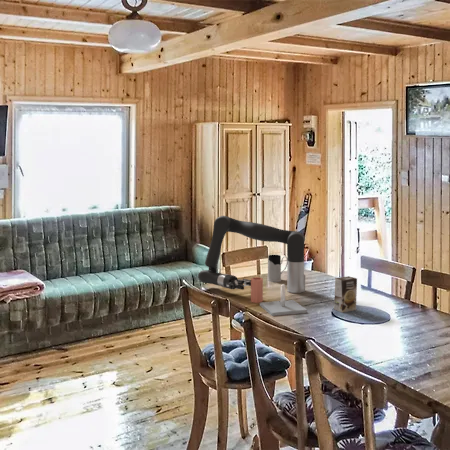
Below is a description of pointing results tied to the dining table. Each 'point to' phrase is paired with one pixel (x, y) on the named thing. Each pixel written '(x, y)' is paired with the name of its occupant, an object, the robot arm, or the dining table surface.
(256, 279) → the sleeve
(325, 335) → the dining table surface
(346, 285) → the coffee box
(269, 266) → the glass holder
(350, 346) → the dining table surface
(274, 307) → the post board
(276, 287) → the dining table surface
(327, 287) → the dining table surface
